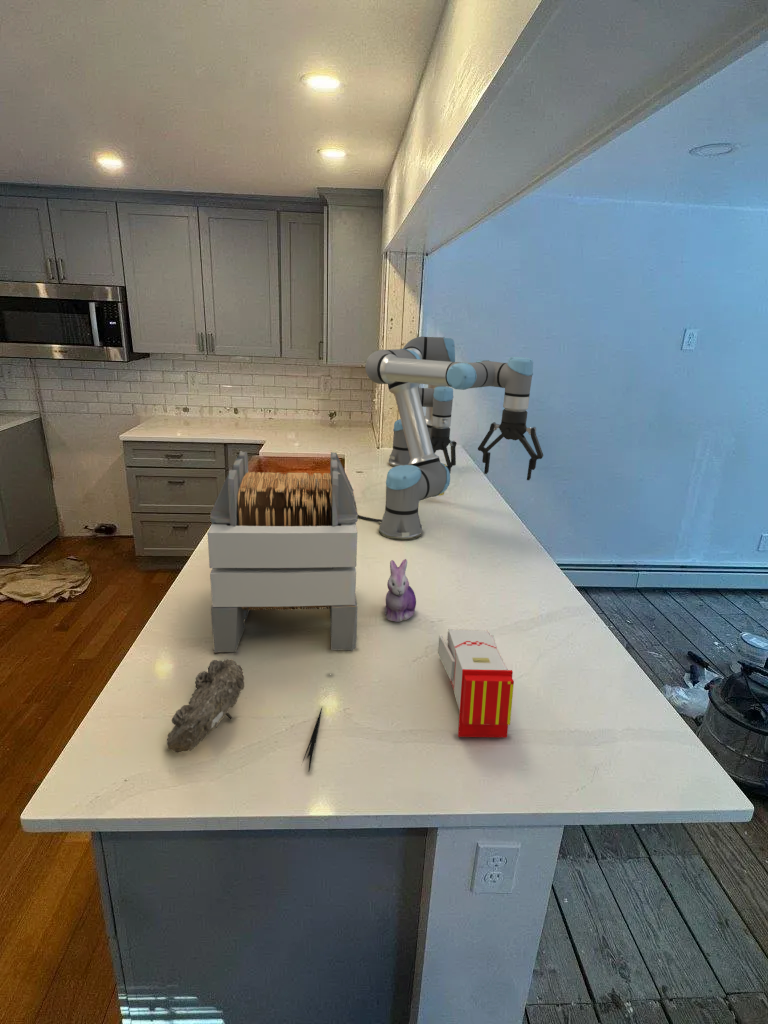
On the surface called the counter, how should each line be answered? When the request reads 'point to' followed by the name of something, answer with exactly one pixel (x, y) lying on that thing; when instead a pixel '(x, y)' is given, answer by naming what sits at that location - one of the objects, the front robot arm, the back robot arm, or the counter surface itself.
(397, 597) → the figurine
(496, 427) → the front robot arm
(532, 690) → the counter surface
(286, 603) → the grey record crate
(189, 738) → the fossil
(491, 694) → the toy
